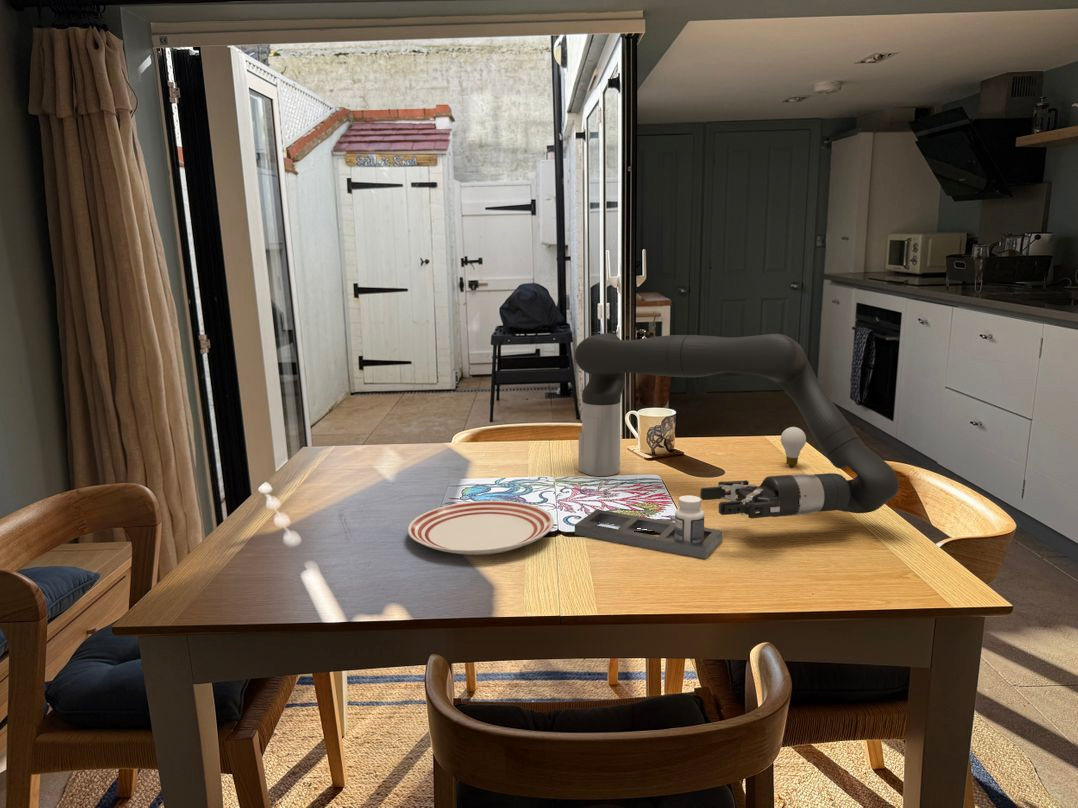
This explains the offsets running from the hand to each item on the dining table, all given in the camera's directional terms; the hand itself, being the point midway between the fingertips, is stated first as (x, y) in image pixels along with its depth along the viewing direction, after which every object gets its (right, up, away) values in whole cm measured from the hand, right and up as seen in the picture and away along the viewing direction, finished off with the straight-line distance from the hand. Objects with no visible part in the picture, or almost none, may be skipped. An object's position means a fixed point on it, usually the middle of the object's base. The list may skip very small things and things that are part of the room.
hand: (710, 501), depth 144 cm
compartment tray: (-11, -7, +5) cm, 14 cm away
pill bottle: (-4, -8, +1) cm, 9 cm away
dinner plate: (-42, -8, +6) cm, 43 cm away
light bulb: (+31, +2, +51) cm, 59 cm away
